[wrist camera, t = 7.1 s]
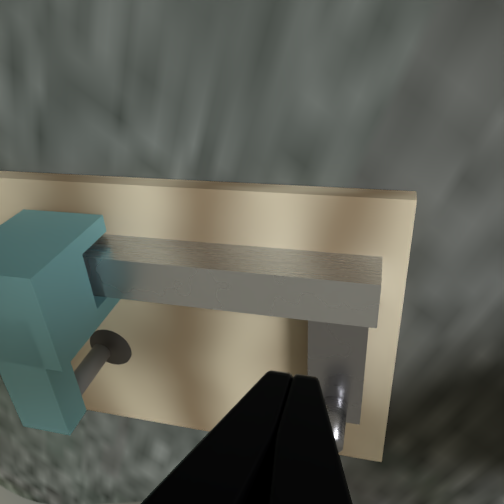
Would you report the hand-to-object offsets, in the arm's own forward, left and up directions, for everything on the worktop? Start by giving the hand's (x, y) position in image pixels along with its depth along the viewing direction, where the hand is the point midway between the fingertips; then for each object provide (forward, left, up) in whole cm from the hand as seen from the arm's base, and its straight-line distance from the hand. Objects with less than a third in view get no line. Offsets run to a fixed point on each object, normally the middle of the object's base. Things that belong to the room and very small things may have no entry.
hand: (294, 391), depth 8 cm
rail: (+7, +5, -12) cm, 15 cm away
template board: (+7, +9, -12) cm, 17 cm away
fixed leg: (0, +9, -11) cm, 14 cm away
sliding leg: (+12, +7, -11) cm, 18 cm away
